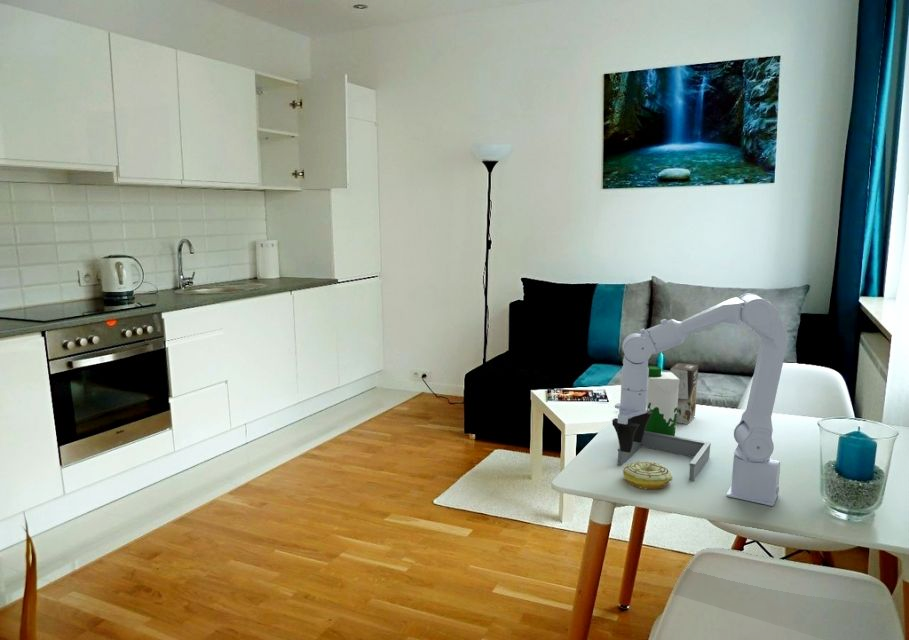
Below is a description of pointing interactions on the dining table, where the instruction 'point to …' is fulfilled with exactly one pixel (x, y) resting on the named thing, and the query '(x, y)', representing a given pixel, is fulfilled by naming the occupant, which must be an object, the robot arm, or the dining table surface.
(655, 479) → the decorated donut
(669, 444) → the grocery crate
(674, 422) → the milk carton
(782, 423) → the dining table surface
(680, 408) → the coffee box
